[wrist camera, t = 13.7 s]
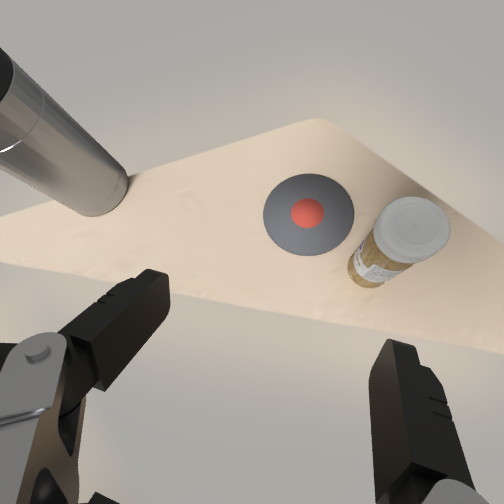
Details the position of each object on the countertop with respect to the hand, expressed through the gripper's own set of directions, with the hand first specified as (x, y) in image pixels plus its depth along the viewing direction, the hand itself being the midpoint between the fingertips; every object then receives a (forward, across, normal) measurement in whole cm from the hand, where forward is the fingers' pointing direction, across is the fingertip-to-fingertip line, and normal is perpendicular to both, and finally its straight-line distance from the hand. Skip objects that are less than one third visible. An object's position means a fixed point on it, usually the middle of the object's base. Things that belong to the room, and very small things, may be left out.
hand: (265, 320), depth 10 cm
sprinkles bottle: (+22, -8, +10) cm, 25 cm away
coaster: (+26, +1, +6) cm, 26 cm away
